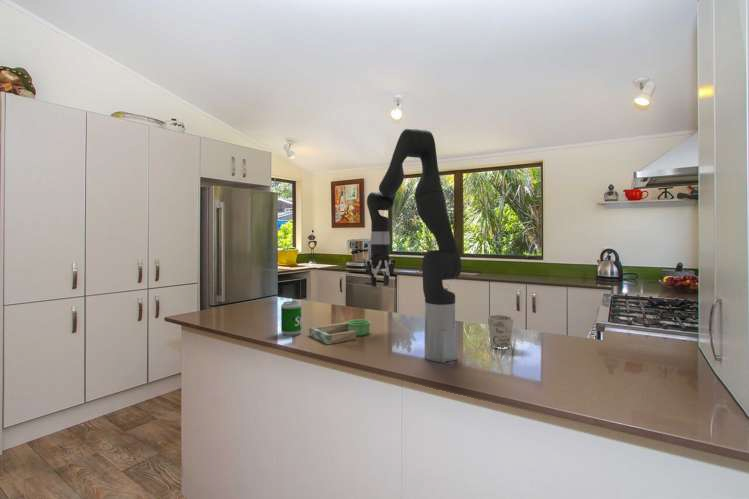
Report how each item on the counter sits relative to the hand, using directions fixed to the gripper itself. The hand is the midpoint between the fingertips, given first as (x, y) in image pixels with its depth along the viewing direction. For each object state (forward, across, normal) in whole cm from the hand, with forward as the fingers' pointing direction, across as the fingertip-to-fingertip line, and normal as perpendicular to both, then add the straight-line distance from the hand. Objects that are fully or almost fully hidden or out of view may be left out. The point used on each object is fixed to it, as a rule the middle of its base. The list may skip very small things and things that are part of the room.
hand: (380, 285), depth 160 cm
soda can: (+18, -32, +13) cm, 39 cm away
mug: (+18, +21, -42) cm, 50 cm away
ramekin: (+18, -10, 0) cm, 20 cm away
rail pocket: (+17, -17, 0) cm, 24 cm away
